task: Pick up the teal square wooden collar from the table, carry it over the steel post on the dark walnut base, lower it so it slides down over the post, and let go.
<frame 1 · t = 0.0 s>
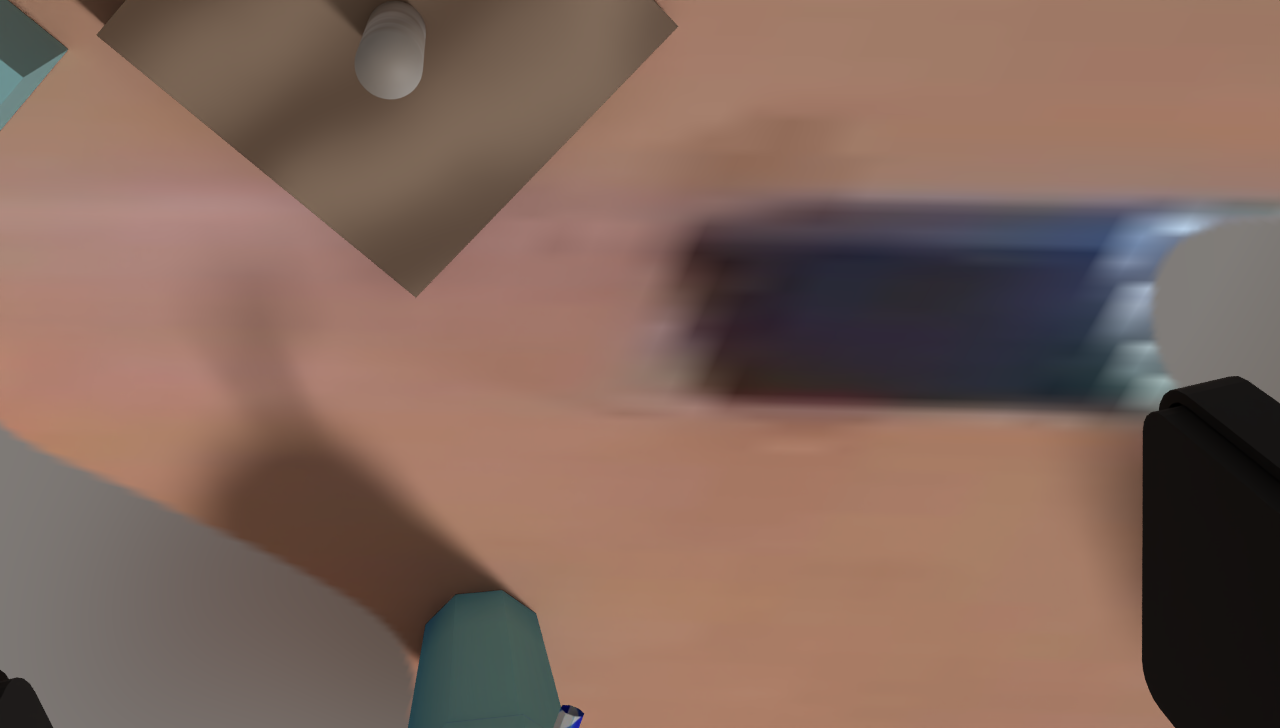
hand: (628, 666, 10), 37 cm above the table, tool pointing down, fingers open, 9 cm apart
post base: (398, 23, 43), on the table
cup: (488, 619, 55), on the table
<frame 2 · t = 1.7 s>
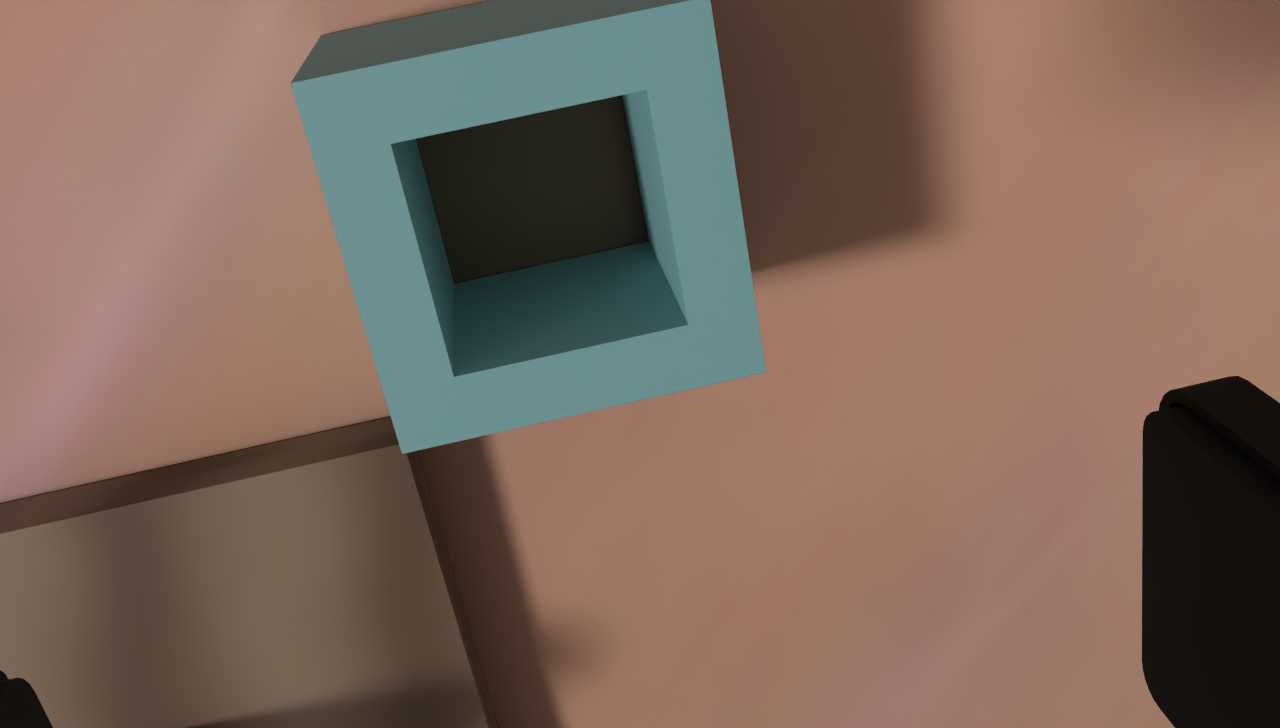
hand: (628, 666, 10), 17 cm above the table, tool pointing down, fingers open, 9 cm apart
post base: (201, 719, 30), on the table
collar: (530, 166, 26), on the table
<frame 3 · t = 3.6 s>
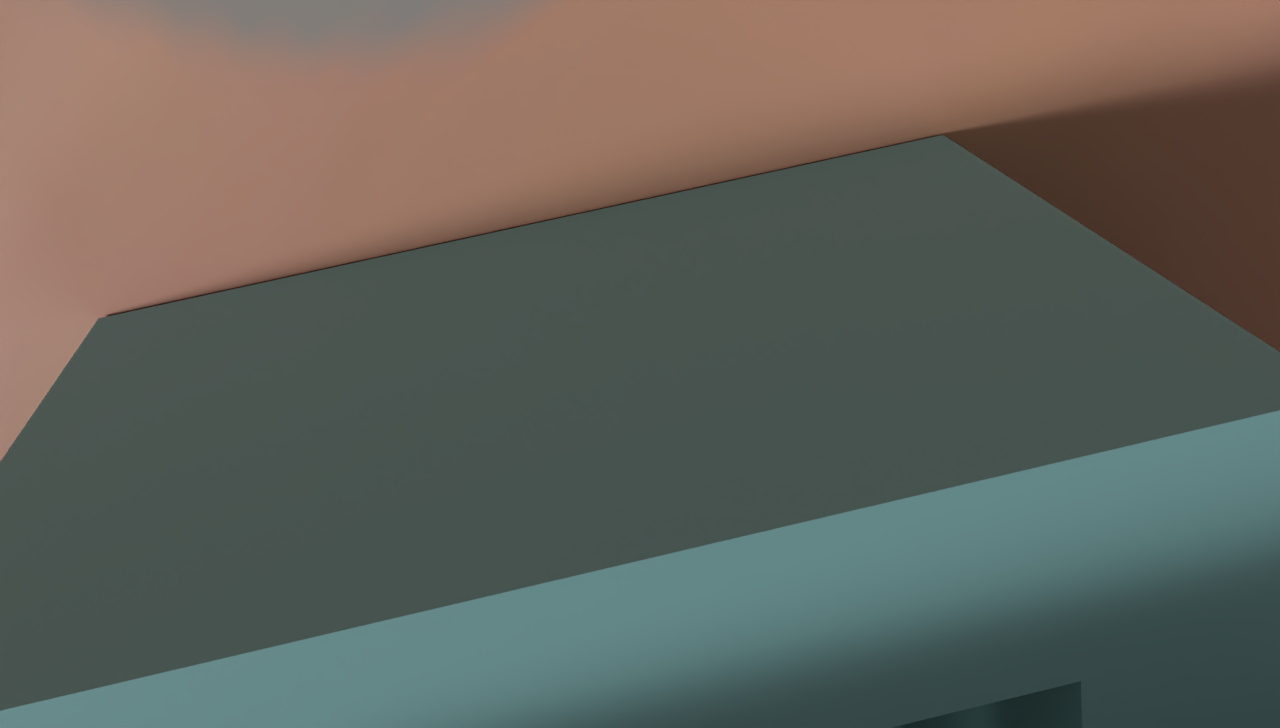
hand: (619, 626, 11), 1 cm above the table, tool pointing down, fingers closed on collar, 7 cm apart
collar: (609, 574, 11), on the table, touching gripper
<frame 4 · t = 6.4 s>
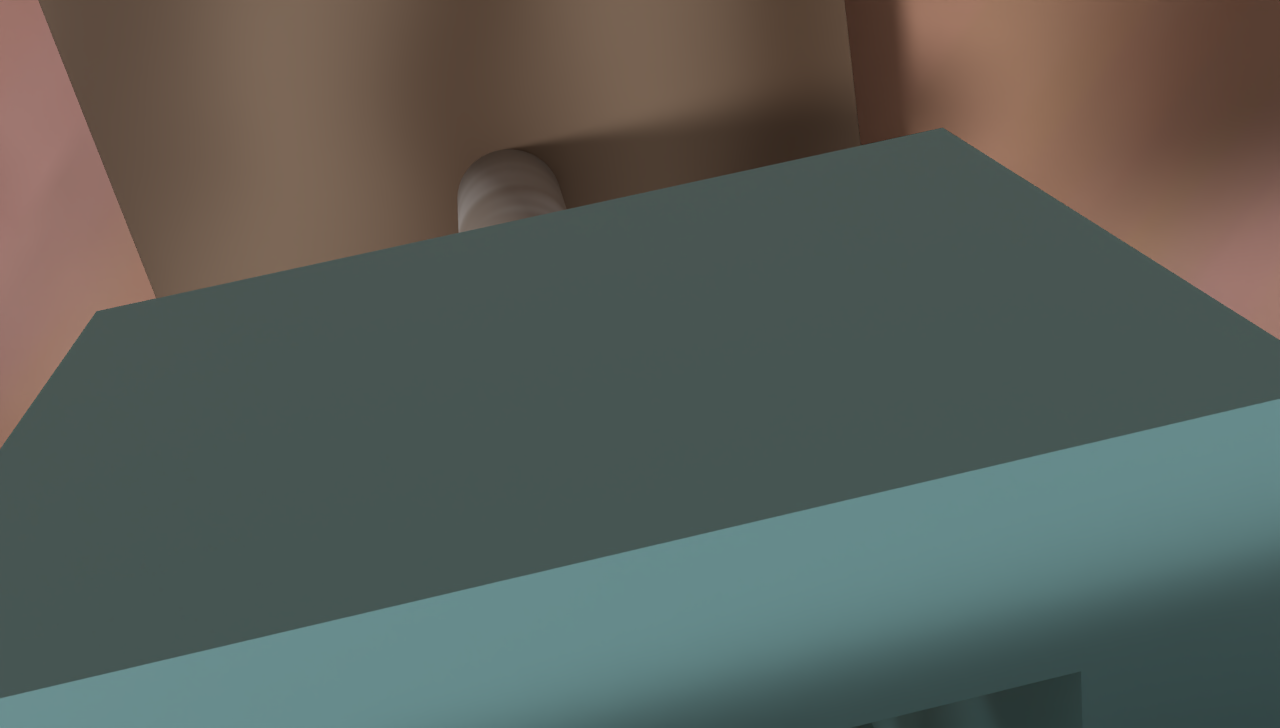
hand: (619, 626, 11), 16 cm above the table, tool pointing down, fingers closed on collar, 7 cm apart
post base: (505, 179, 25), on the table
collar: (608, 569, 11), point 15 cm above the table, touching gripper
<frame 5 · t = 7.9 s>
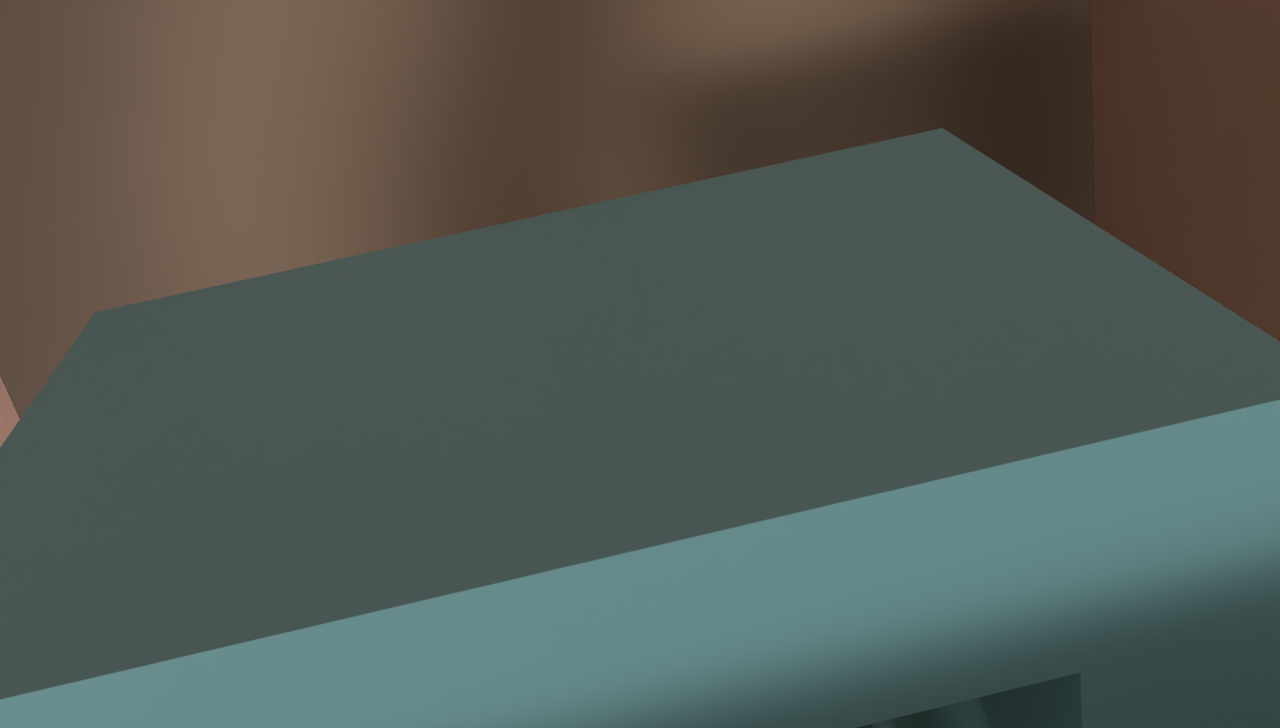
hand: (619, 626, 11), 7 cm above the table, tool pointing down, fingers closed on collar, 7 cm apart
post base: (574, 325, 17), on the table
collar: (607, 569, 11), point 6 cm above the table, touching gripper
when the fingers open (4 cm above the table, at t = 9.1 s): collar drops 1 cm, resting on post base.
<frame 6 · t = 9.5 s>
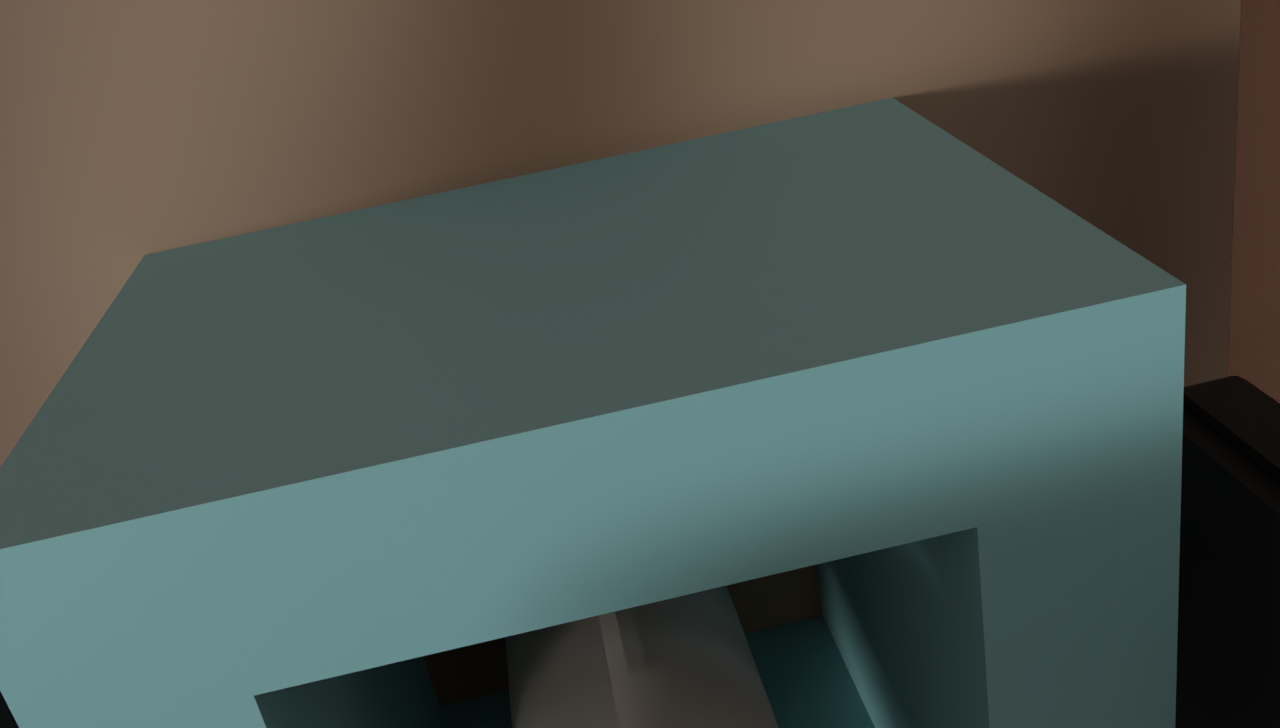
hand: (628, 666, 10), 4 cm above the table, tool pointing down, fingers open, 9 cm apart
post base: (577, 430, 14), on the table
collar: (596, 495, 13), point 1 cm above the table, touching post base
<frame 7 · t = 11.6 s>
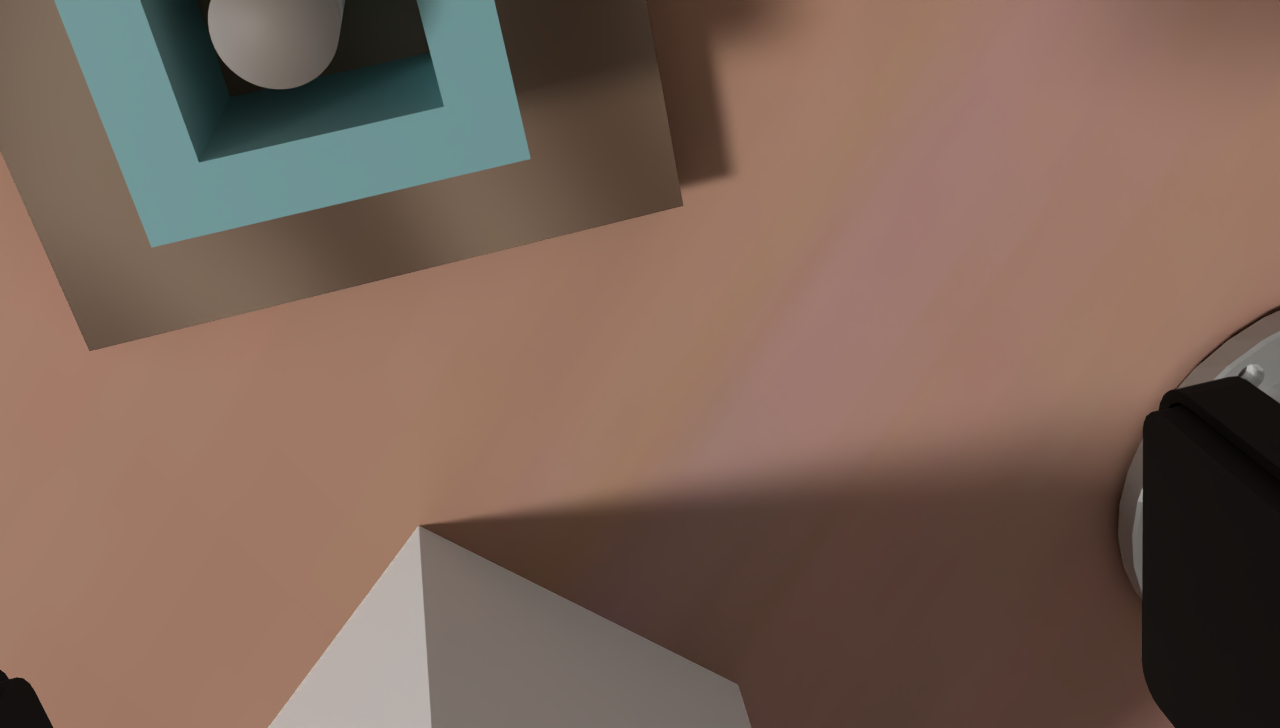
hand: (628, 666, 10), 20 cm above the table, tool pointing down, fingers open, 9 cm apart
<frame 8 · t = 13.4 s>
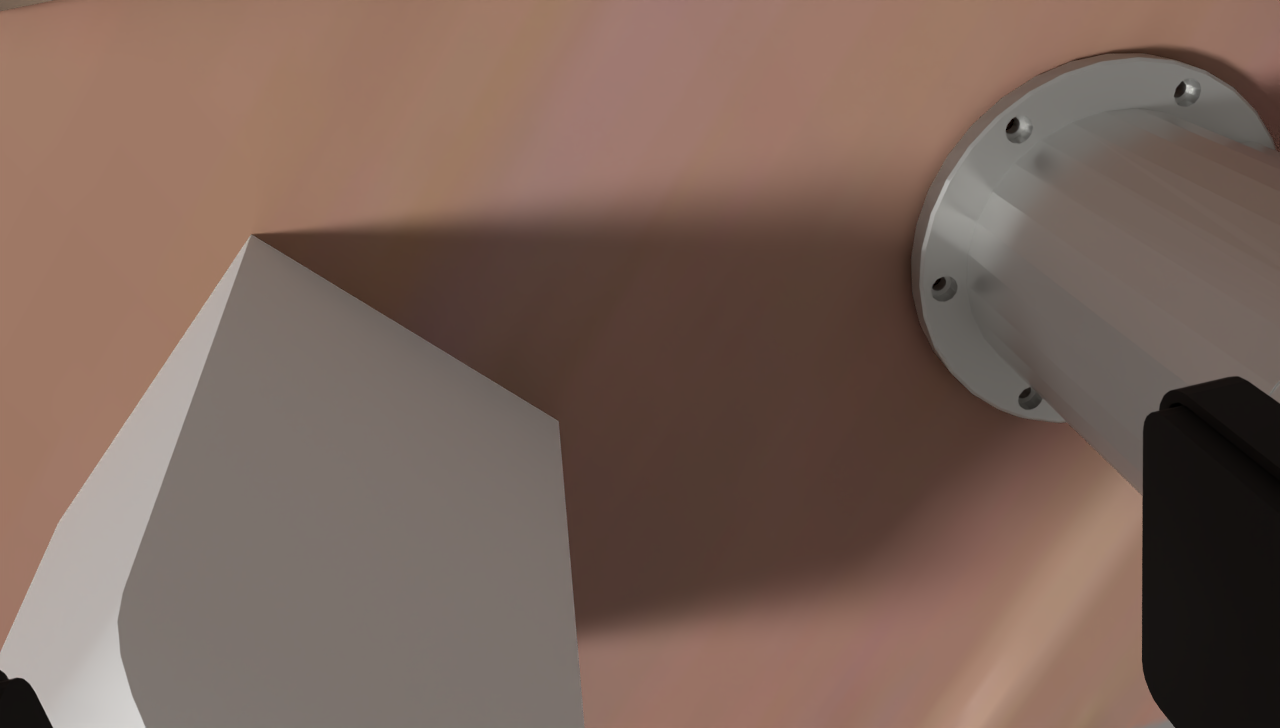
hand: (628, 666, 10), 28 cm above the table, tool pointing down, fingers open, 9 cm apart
milk: (312, 468, 41), on the table
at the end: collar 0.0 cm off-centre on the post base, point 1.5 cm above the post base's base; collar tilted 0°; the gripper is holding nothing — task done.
